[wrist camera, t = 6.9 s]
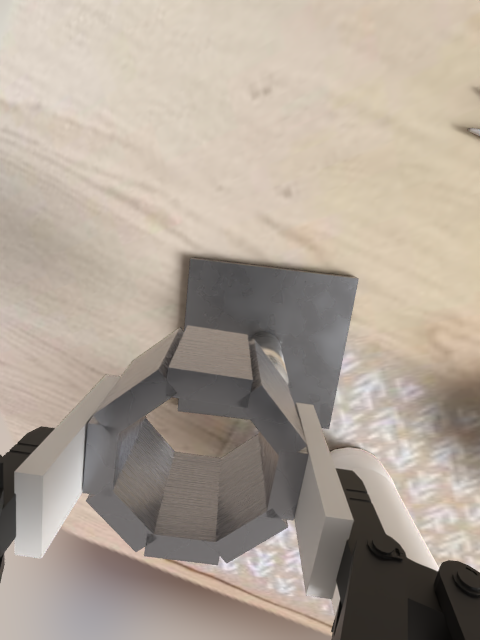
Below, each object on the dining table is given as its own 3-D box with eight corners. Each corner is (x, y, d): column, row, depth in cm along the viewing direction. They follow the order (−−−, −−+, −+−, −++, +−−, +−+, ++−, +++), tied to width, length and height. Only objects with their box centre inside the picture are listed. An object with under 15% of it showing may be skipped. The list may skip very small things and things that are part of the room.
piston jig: (191, 257, 32) (173, 268, 24) (355, 276, 32) (388, 294, 24) (179, 405, 36) (159, 457, 28) (326, 423, 36) (347, 479, 28)
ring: (134, 316, 17) (92, 356, 12) (298, 342, 17) (324, 390, 12) (119, 462, 18) (78, 548, 14) (268, 482, 19) (280, 573, 14)
